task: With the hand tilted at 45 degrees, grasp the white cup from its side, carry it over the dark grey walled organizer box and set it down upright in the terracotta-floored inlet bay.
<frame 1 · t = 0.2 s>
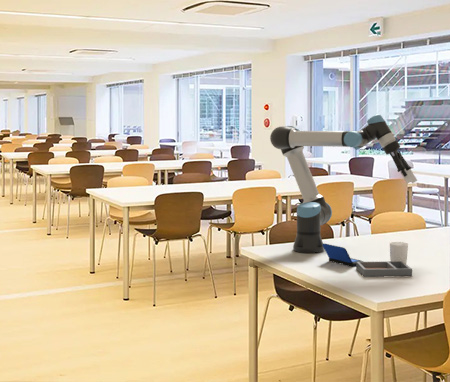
hand: (412, 182, 315), 35 cm above the table, tool tilted 35°, fingers open, 13 cm apart
white cup: (398, 266, 295), on the table
handheld game console: (344, 264, 301), on the table
walled box: (383, 272, 282), on the table
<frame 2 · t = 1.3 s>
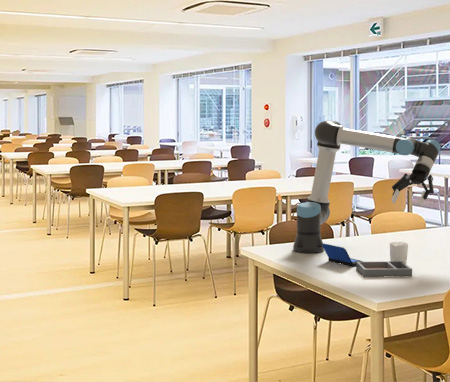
hand: (406, 202, 303), 27 cm above the table, tool tilted 45°, fingers open, 13 cm apart
nothing on the table moved.
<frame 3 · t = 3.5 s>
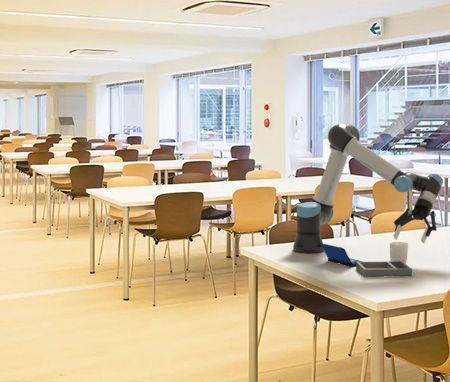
hand: (408, 239, 298), 11 cm above the table, tool tilted 45°, fingers open, 13 cm apart
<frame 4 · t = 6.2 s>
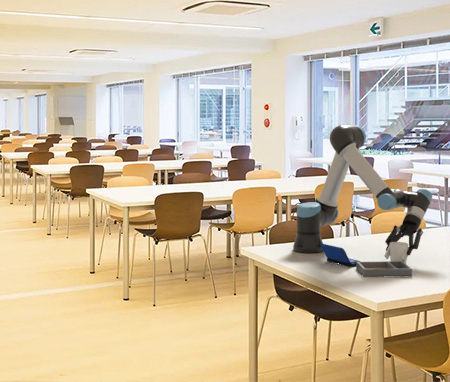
hand: (394, 258, 293), 4 cm above the table, tool tilted 45°, fingers closed on white cup, 8 cm apart
white cup: (398, 266, 295), on the table, touching gripper
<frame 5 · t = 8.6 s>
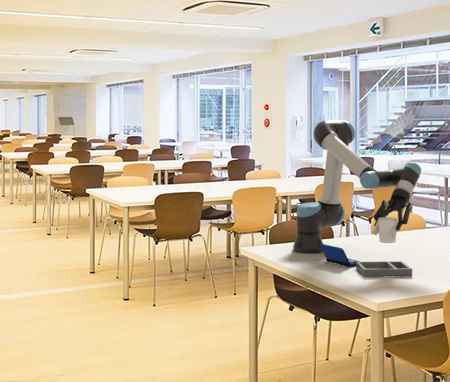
hand: (383, 234, 282), 16 cm above the table, tool tilted 45°, fingers closed on white cup, 8 cm apart
white cup: (387, 242, 285), point 12 cm above the table, touching gripper
when the fingers open (5 cm above the table, at t = 11.5 s): white cup drops 1 cm, resting on walled box.
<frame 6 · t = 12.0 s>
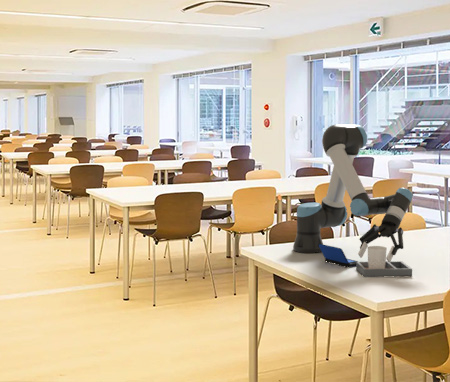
hand: (373, 258, 280), 7 cm above the table, tool tilted 45°, fingers open, 13 cm apart
white cup: (376, 271, 282), point 1 cm above the table, touching walled box
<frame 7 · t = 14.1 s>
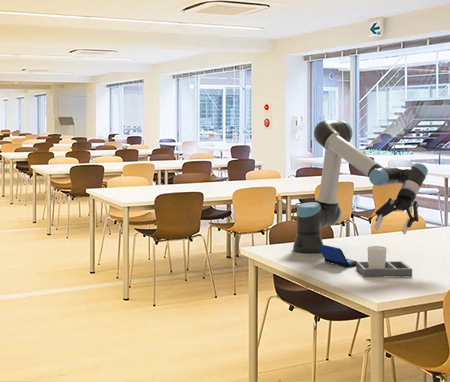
hand: (389, 230, 288), 17 cm above the table, tool tilted 45°, fingers open, 13 cm apart
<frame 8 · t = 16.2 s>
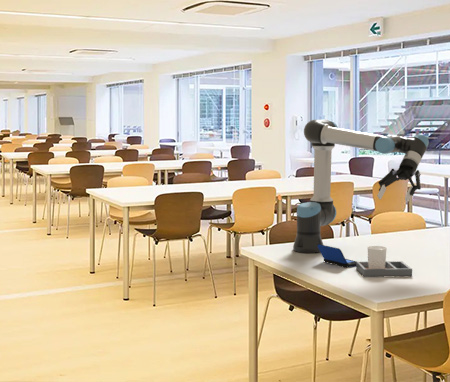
hand: (392, 198, 294), 30 cm above the table, tool tilted 45°, fingers open, 13 cm apart
at the end: white cup inside the target area on the walled box (0.1 cm from its centre), point 0.6 cm above the walled box's base; white cup tilted 0°; the gripper is holding nothing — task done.
